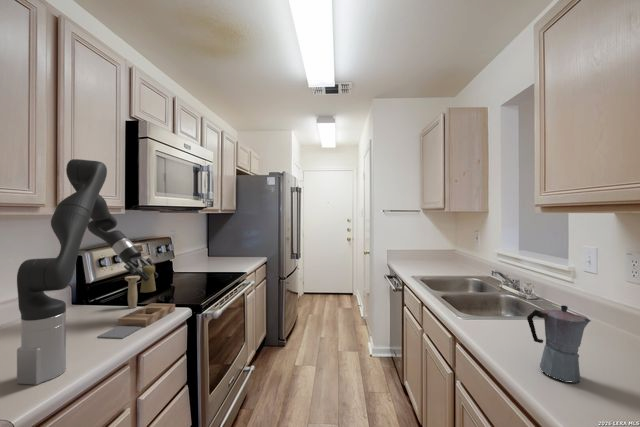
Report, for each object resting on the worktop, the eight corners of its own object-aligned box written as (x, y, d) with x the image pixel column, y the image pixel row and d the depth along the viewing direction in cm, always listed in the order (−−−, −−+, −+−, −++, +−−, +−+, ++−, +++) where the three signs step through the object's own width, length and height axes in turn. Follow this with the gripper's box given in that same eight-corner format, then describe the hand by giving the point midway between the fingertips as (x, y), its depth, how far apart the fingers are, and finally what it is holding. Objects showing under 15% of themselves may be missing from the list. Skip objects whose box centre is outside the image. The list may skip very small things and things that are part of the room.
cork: (138, 292, 123) (138, 267, 123) (142, 289, 129) (142, 264, 129) (153, 292, 125) (153, 266, 125) (157, 288, 130) (157, 264, 130)
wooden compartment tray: (145, 327, 116) (145, 319, 116) (118, 326, 117) (118, 318, 117) (175, 310, 136) (175, 304, 136) (151, 309, 137) (151, 303, 137)
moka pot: (602, 388, 76) (603, 312, 76) (538, 382, 79) (538, 309, 79) (576, 368, 86) (577, 301, 85) (519, 364, 88) (520, 299, 88)
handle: (129, 305, 143) (129, 275, 143) (142, 305, 143) (142, 275, 143) (122, 309, 138) (122, 278, 138) (136, 309, 138) (136, 277, 138)
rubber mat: (122, 338, 106) (122, 337, 106) (97, 337, 106) (97, 336, 106) (141, 328, 116) (141, 326, 116) (118, 327, 116) (118, 325, 116)
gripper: (119, 246, 120) (146, 276, 119) (143, 243, 135) (168, 269, 134) (108, 259, 121) (134, 288, 120) (133, 254, 135) (157, 280, 134)
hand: (152, 278), depth 127 cm, fingers closed on cork, 5 cm apart
